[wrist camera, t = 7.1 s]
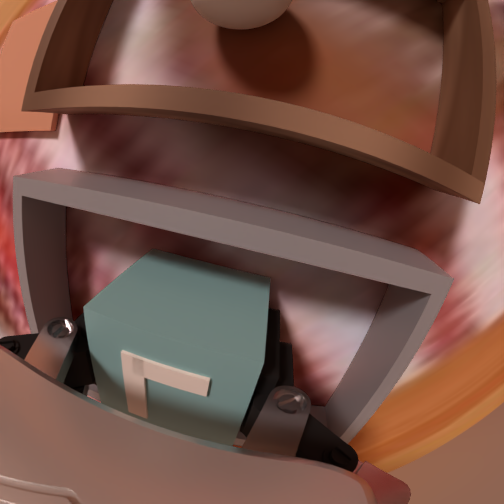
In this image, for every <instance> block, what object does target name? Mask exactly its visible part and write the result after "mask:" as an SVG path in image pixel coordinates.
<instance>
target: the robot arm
mask: <svg viewBox="0 0 504 504" xmlns="http://www.w3.org/2000/svg"><path fill="white" fill-rule="evenodd" d="M90 384H95V385H97V384H96V380H95V375H94V371H93V366H92V361H91V356H90V350H89V345H88V339H87V332H86V325H85V318H84V312H83V313H82V314H81V315H80V316H79V317H78V318H77V319H76V320H75V321H73V320H72V319H69V318H66V317H57V318H53V319H51V320H49V321H48V322H47V323H46V324H45V325H44V327H43V329H42V330H41V332H40V333H35V334H26V335H16V336H7V337H3V338H1V339H0V504H408V502H409V500H410V496H411V493H410V489H409V487H408V485H407V484H405V483H404V482H403V481H401V480H399V479H397V478H395V477H393V476H391V475H389V474H388V473H386V472H384V471H382V470H380V469H379V468H377V467H375V466H373V465H372V464H370V463H368V462H366V461H365V462H364V463H362V462H360V461H359V460H358V455H357V454H356V452H355V450H354V449H353V448H352V447H351V446H350V445H348V444H347V443H346V442H344V441H343V440H342V439H341V438H339V437H338V436H337V435H335V434H334V433H333V432H332V431H330V430H329V429H328V428H327V427H326V426H324V425H323V424H322V423H321V422H319V421H318V420H317V419H316V418H315V417H313V416H312V415H311V414H310V413H309V412H310V409H311V401H310V398H309V397H308V396H307V394H306V393H305V392H303V391H302V390H300V389H298V388H296V387H294V379H293V355H292V344H290V343H285V342H280V310H276V309H271V308H268V320H267V333H266V346H265V358H264V364H263V367H262V370H261V373H260V375H259V378H258V381H257V384H256V386H255V389H254V392H253V395H252V397H251V400H250V403H249V405H248V408H247V411H246V413H245V416H244V418H243V421H242V424H241V426H240V432H242V433H243V434H244V435H245V437H246V440H245V442H244V444H243V446H242V447H241V448H238V447H233V446H228V445H224V444H219V443H215V442H211V441H207V440H203V439H199V438H195V437H191V436H188V435H184V434H181V433H178V432H175V431H171V430H168V429H165V428H162V427H159V426H156V425H153V424H151V423H148V422H145V421H142V420H140V419H137V418H135V417H132V416H130V415H127V414H125V413H122V412H120V411H117V410H115V409H113V408H111V407H108V406H106V405H104V404H102V403H100V402H98V401H95V400H93V399H91V398H89V397H87V394H88V390H89V385H90Z"/></svg>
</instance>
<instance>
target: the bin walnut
mask: <svg viewBox="0 0 504 504" xmlns="http://www.w3.org/2000/svg"><path fill="white" fill-rule="evenodd" d="M436 1H438V2H440V3H442V5H443V32H444V39H443V67H442V80H441V91H440V100H439V107H438V114H437V121H436V127H435V133H434V138H433V144H432V149H431V153H428V152H426V151H424V150H422V149H420V148H417V147H415V146H413V145H411V144H408V143H406V142H404V141H402V140H399V139H397V138H394V137H392V136H390V135H387V134H385V133H382V132H379V131H377V130H374V129H371V128H369V127H366V126H363V125H360V124H358V123H355V122H352V121H349V120H346V119H343V118H340V117H336V116H333V115H330V114H327V113H323V112H320V111H316V110H312V109H309V108H305V107H301V106H297V105H293V104H289V103H285V102H280V101H276V100H271V99H266V98H261V97H256V96H251V95H245V94H239V93H233V92H226V91H219V90H211V89H203V88H193V87H182V86H167V85H139V84H122V85H95V86H83V84H84V80H85V76H86V73H87V69H88V66H89V62H90V59H91V56H92V53H93V50H94V47H95V44H96V41H97V39H98V36H99V33H100V31H101V28H102V25H103V23H104V20H105V18H106V16H107V13H108V11H109V9H110V6H111V4H112V2H113V0H58V1H57V3H56V5H55V7H54V10H53V12H52V14H51V16H50V18H49V21H48V23H47V25H46V28H45V30H44V33H43V36H42V38H41V41H40V44H39V46H38V49H37V52H36V55H35V58H34V61H33V65H32V68H31V71H30V75H29V79H28V82H27V86H26V91H25V95H24V99H23V104H22V109H21V111H26V112H45V113H58V114H114V115H134V116H148V117H159V118H169V119H178V120H186V121H194V122H201V123H208V124H214V125H220V126H226V127H232V128H237V129H242V130H247V131H252V132H257V133H262V134H266V135H271V136H275V137H279V138H284V139H288V140H292V141H296V142H300V143H303V144H307V145H311V146H314V147H318V148H321V149H325V150H328V151H332V152H335V153H338V154H341V155H344V156H348V157H351V158H354V159H357V160H360V161H363V162H366V163H368V164H371V165H374V166H377V167H380V168H382V169H385V170H388V171H390V172H393V173H396V174H398V175H401V176H403V177H406V178H408V179H411V180H413V181H415V182H418V183H420V184H422V185H425V186H427V187H429V188H432V189H434V190H436V191H440V192H443V193H446V194H450V195H453V196H456V197H460V198H463V199H466V200H469V201H472V202H475V203H478V204H480V202H481V198H482V194H483V189H484V185H485V180H486V176H487V171H488V165H489V160H490V154H491V147H492V140H493V131H494V121H495V108H496V57H495V44H494V35H493V27H492V20H491V14H490V9H489V4H488V0H436Z"/></svg>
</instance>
